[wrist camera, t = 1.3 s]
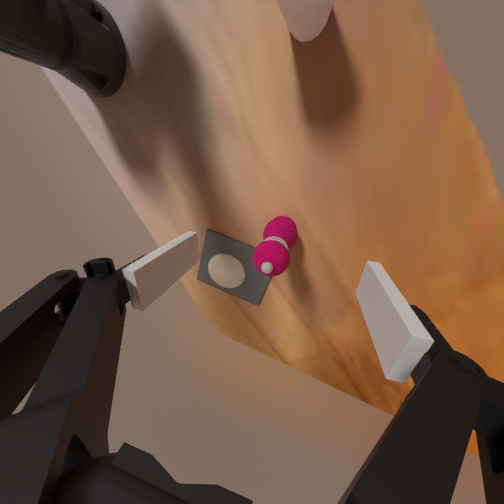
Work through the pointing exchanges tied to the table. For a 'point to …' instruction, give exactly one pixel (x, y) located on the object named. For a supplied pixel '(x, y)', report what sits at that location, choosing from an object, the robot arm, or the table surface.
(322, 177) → the table surface
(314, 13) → the foam cup
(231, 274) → the mat
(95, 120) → the table surface
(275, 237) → the pepper mill
